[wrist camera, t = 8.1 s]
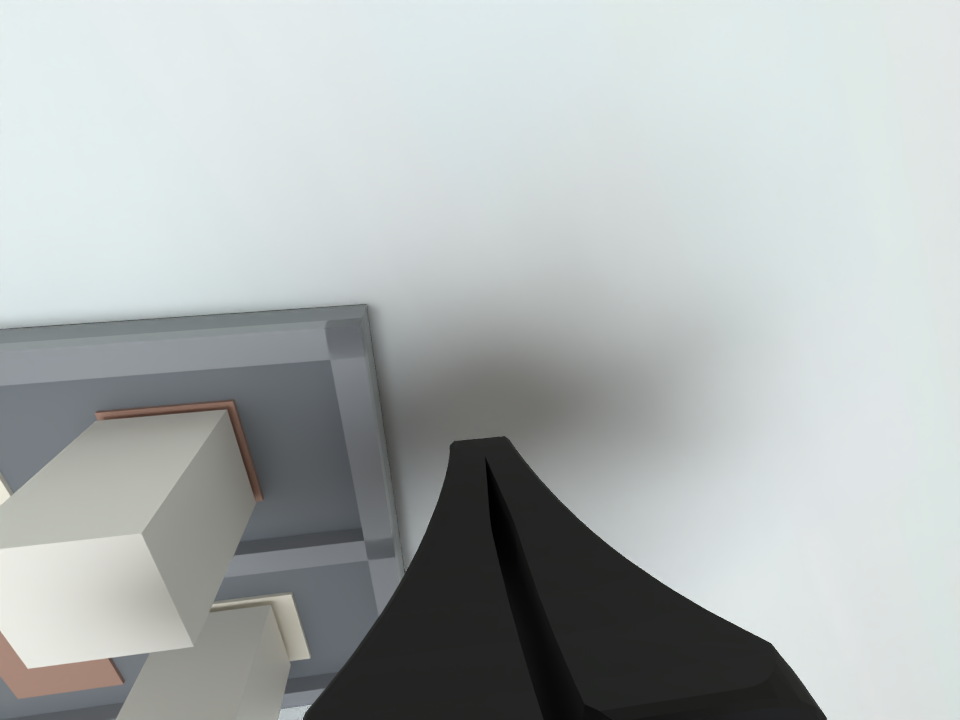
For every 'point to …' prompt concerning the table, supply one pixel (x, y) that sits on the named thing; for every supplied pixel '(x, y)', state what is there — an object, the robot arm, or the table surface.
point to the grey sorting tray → (267, 459)
